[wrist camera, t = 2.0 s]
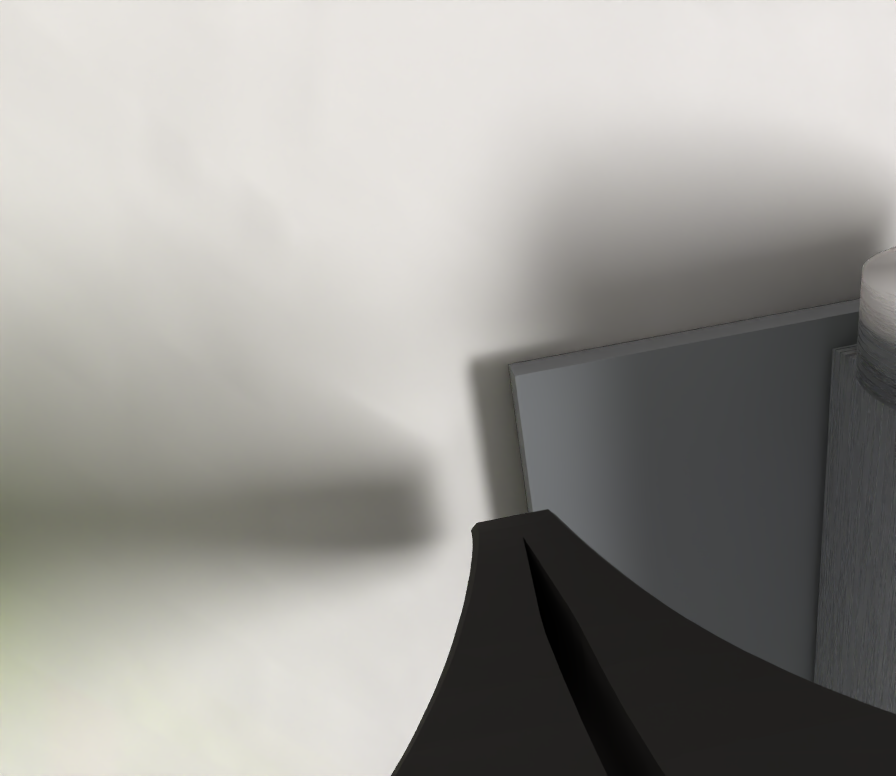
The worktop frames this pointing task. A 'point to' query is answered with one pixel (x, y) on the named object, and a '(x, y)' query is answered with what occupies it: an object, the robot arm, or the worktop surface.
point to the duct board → (697, 467)
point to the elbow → (862, 504)
